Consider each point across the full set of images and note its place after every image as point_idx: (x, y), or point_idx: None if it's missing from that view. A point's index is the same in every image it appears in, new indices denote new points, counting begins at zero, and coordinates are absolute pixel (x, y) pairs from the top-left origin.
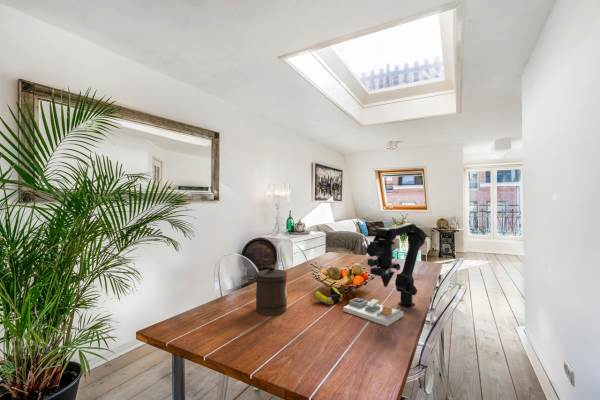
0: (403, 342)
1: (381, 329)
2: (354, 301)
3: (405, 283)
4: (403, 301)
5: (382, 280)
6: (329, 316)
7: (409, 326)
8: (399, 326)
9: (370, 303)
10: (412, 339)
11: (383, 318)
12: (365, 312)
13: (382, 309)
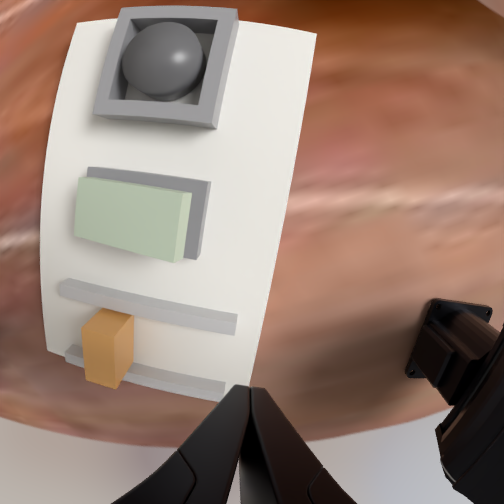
0: (14, 403)
1: (20, 321)
2: (141, 37)
3: (456, 486)
4: (425, 356)
5: (183, 447)
6: (4, 42)
7: (136, 422)
8: (101, 387)
9: (99, 203)
10: (50, 428)
11: (61, 325)
12: (62, 191)
13: (91, 318)
